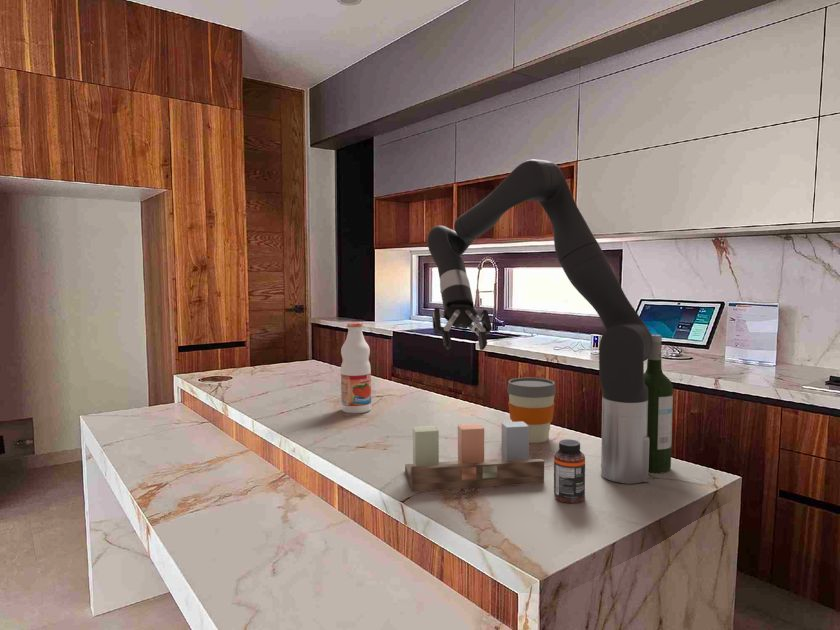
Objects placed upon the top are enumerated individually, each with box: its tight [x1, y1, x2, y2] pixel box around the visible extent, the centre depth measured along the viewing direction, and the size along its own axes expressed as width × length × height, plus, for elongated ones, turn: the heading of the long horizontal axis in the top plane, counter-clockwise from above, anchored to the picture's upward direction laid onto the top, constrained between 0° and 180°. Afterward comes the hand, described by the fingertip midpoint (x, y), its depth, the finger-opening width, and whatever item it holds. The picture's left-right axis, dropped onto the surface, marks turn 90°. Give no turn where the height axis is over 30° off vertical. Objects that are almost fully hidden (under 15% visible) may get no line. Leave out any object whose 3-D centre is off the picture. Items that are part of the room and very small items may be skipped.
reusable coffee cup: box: [507, 377, 557, 444], centre depth 152 cm, size 13×13×15 cm
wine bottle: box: [644, 334, 674, 474], centre depth 128 cm, size 8×8×30 cm
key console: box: [404, 458, 545, 492], centre depth 124 cm, size 28×12×5 cm, turn 98°
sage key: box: [412, 425, 440, 466], centre depth 124 cm, size 5×4×9 cm
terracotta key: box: [457, 423, 485, 464], centre depth 126 cm, size 5×4×9 cm
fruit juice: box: [340, 321, 372, 414], centre depth 182 cm, size 9×9×28 cm
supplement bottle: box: [553, 438, 586, 504], centre depth 112 cm, size 6×6×11 cm
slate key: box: [500, 421, 530, 461], centre depth 127 cm, size 5×4×9 cm
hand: (466, 347), depth 136 cm, fingers open, 8 cm apart
